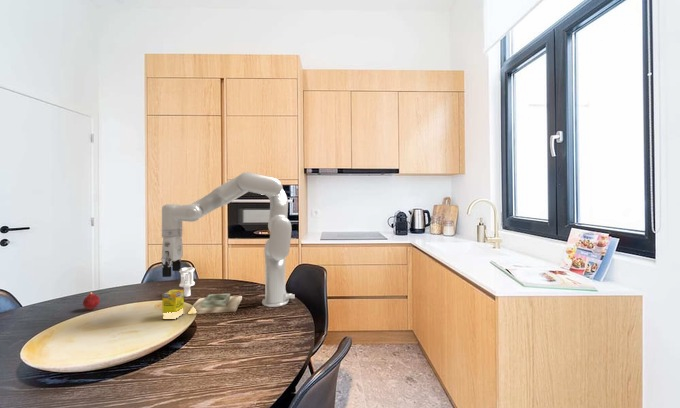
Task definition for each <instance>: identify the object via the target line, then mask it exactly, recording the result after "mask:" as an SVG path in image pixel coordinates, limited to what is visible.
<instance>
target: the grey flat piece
mask: <svg viewBox="0 0 680 408" xmlns="http://www.w3.org/2000/svg"><path fill="white" fill-rule="evenodd" d="M242 299H243V296H242V295H234V296H232V295H231V293H218V294H217V293H215V294H208V295H206V297H200V298H198V299H197V300H196V301H195V302H194V303H193V305H192V306H194V308H195V309H196V311H197V314H196V315H198V314H199V315H202V314H213V313H215V314H216V313H229V312H230V313H231V312H237V310H238V307H239V306H240V304H241V302H242Z"/></svg>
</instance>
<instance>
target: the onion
mask: <svg viewBox="0 0 680 408" xmlns="http://www.w3.org/2000/svg"><path fill="white" fill-rule="evenodd" d="M100 303H101V299H100V297H99V296H98V295H97V294H95V293H93V292H92V291H91V292H89V294H88V295H87V296H86V297H85V298H84V299H83V301H82V305H83V307H84V308H86V310H89V311H93V310H94V309H95V308H97V307H98V306H99V304H100Z"/></svg>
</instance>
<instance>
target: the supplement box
mask: <svg viewBox="0 0 680 408" xmlns="http://www.w3.org/2000/svg"><path fill="white" fill-rule="evenodd" d="M161 295H162V296H161V297H162V299H161V302H162V303H161V304H162V307H161V309H162V310H161V311H162V313H167V312H168V313H169V312H171V313H172V312H177V311H179V310H180V309H182V308H183V307H184V308H185V306H184V305H185V303H184V302H185V300H184V299H185V298H184V297H185V296H184V289H170V290H169V291H166V292H164V293H162V294H161Z"/></svg>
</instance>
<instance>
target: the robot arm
mask: <svg viewBox="0 0 680 408" xmlns="http://www.w3.org/2000/svg"><path fill="white" fill-rule="evenodd" d="M249 192H250V193H252V194H259V195H264V196H266V197H267V198H268V199H269V204H270V205H269V218H268V224H267V228H268V231H269V232H270V233H269V239H268V240H267V241H266V242H265V244H264V249H263V250H264V263H265V266H264V267H265V268H264V275H265V276H264V279H265V280H264V281H265V283H264V284H265V289H264V291H265V293H264V294H265V298H263V299H262V301H261V304H262V306H264V307H269V308H276V307H283V306H285V305H287V304H288V303H289V301H290V300H289V299H295V298H296V297H295V293H294V294H293V293H288V292H287V290H286V258H287V257H288V255H289V253H290V251H291V250H290V248H291V239H292V229H293V228H292V223H291V221H290V219H288V213H289V210H288V209H289V200H288V195H287V194H286V192H285V190H284V188H283V184H282V182H281V181H280V180H279V179H278V178H276V177H271V176H267V175H263V174H258V173H255V172H254V173H253V172H249V171H245V172H242V173H241V174H239V175H237V176H235V177H234V178H232V179H230V180H228V181H227V182H224V183H223V184H221V185H219V186H217V187H216V188H214V189H213V190H211V192H209V193H208V194H207V195H205V196H203V197H201V198H199V199H198V200H196V201H194V202H192V203H190V204H189V203H188V204H177V203H176V204H175V203H173V204H172V203H171V204H164V205H162V206H161V238H162V246H161V259H160V260H161V269H162V272H161V273H162V274H161V275H162V278H171V276H172V272H179V271H180V270H181V263H182V258H183V257H184V248H183V239H182V238H183V222H189V223H194V222H197V221H199V220H200V219H201V218H202V217H204V216H206V215H208V214H209V213H211V212H213V211H216V210H217V209H218V208H221V207H224V206H226V205H228V204H230V203H232V202H233V201H235V200H236V199H238V198H240V197H242V196H243V195H245V194H247V193H249ZM171 265H172V266H171Z"/></svg>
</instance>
